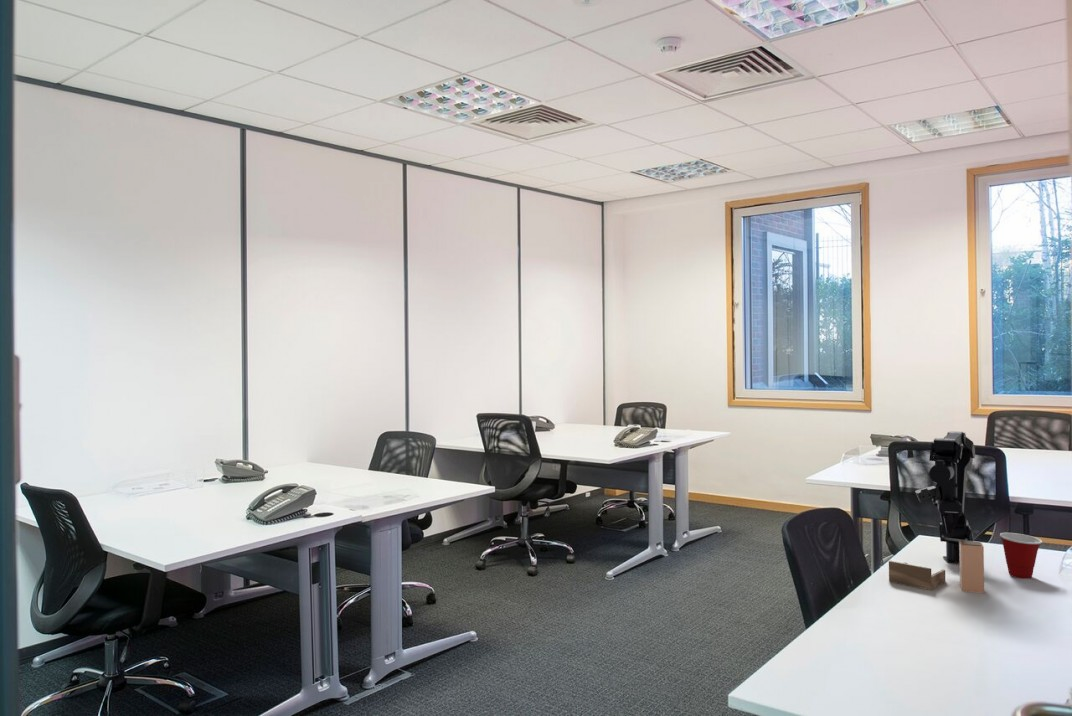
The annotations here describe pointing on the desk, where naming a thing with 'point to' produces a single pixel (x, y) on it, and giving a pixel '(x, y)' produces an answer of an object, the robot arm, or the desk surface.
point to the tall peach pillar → (971, 566)
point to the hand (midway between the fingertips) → (947, 529)
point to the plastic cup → (1020, 553)
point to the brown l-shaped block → (915, 575)
